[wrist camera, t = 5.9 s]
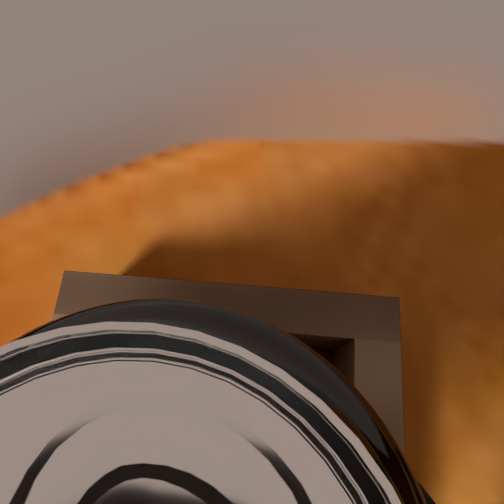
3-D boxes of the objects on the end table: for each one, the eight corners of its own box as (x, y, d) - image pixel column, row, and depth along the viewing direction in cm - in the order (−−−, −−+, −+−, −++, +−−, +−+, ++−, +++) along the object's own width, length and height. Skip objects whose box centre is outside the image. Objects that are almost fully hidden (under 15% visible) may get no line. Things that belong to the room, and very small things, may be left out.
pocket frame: (375, 667, 14) (415, 752, 10) (28, 631, 14) (-41, 702, 11) (371, 316, 17) (399, 297, 14) (99, 294, 18) (64, 270, 14)
